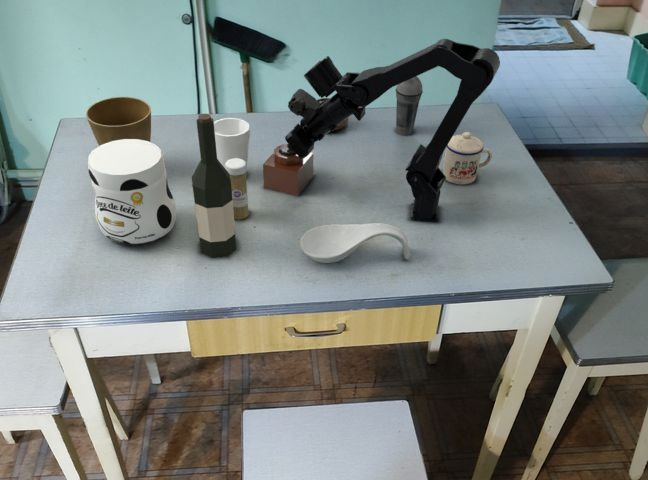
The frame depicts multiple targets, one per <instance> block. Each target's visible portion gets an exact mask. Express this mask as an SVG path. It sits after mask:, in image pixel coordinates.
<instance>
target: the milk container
mask: <svg viewBox="0 0 648 480" xmlns="http://www.w3.org/2000/svg"><path fill="white" fill-rule="evenodd" d="M165 165H166V164H165V159H164V155H163V152H162V150H161V148H160V147H158V145H157V144H155V143H153V142H151V141H150V142H149V141H144V140H139V139H122V140H116V141H111V142H108V143H105V144H102V145H100V146H99V145H98V146H96V147H95V148H94V149H92V151H91V152H90V153H89V154H88V157H87V169H88V174H89V179H90V182H91V186H92V189H93V193H94V199H95V201H94V217H95V220H96V222H97V226H98V227H99V229H100V232H101V233H102V234H103V235H104V236H105V237H106V238H107V239H109V240H111V241H113V242H114V243H119V244H123V245H128V246H131V245H133V246H134V245H137V246H138V245H140V246H141V245H144V244H150V243H153V242H155V241H157V240H160V239H162V238H163V237H166V235H168V234H169V233H170V232H171V231H172V230H173V228H174V226H175V223H176V220H177V206H176V201H175V198H174V196H173V194H172V192H171V190H170V187H169V182H168V173H167V169H166V166H165Z"/></svg>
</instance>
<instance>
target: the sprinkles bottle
mask: <svg viewBox="0 0 648 480" xmlns="http://www.w3.org/2000/svg"><path fill="white" fill-rule="evenodd" d="M225 168H226V170H227V171H228V173H229V174H230V179H231V187H232V199H233V211H234V220H244V219H247V218H248V217H249V215H250V211H249V197H248V196H249V195H248V183H247V172H246V162H245V161H244V160H242V159H238V158H234V159H230V160H228V161H227V162H226V163H225Z"/></svg>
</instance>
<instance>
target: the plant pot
mask: <svg viewBox="0 0 648 480" xmlns="http://www.w3.org/2000/svg"><path fill="white" fill-rule="evenodd" d="M85 117H86V120H87V122H88V125H89V127H90V129H91V131H92V134H93V136H94V138H95V141H96V142H97V144H98V147H99V146H100V145H102V144H105V143H108V142H111V141H116V140H122V139H139V140H144V141H149V142H151V137H152V107H151V105H150V104H149V103H148V102H146V101H145V100H142V99H140V98H137V97H131V96H113V97H108V98H104V99H101V100H98V101H96V102H94V103H93V104H91V105H90V106H89V107H88V108H87V109H86V111H85Z"/></svg>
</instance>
